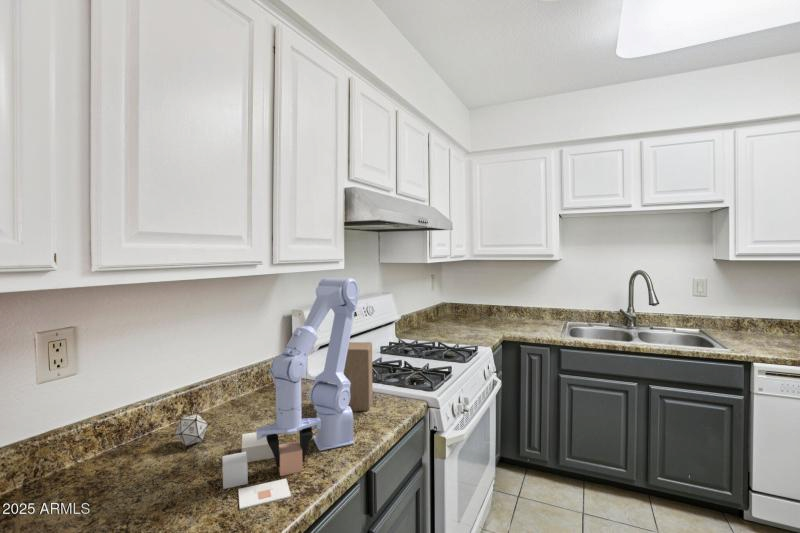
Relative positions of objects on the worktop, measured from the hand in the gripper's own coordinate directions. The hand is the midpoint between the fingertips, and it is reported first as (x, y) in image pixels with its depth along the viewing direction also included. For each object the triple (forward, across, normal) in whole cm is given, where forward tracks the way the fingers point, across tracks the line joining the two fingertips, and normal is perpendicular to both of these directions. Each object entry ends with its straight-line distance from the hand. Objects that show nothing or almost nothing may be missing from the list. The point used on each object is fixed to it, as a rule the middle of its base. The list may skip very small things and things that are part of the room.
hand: (289, 462), depth 96 cm
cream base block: (+2, -6, +11) cm, 13 cm away
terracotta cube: (+1, 0, 0) cm, 1 cm away
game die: (+2, -22, +23) cm, 32 cm away
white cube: (+2, -12, 0) cm, 12 cm away
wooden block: (+2, +26, +31) cm, 40 cm away
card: (+1, -6, -8) cm, 10 cm away
